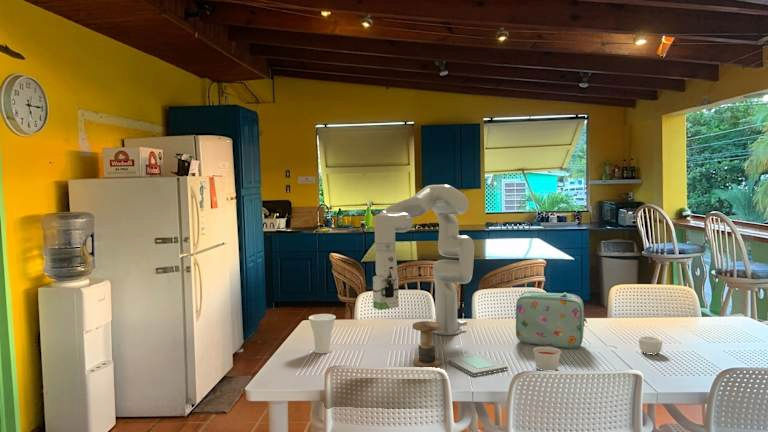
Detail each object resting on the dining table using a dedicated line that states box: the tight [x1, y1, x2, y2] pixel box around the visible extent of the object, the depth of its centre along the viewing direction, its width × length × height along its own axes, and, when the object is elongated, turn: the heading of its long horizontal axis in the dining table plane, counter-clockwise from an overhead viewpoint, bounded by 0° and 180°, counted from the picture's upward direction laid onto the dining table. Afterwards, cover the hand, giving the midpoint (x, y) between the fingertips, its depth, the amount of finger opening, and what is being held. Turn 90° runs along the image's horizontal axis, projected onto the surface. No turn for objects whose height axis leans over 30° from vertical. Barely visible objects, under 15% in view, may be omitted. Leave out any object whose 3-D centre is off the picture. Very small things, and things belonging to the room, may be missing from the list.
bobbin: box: [412, 320, 442, 368], centre depth 191 cm, size 10×10×14 cm
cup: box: [308, 313, 336, 354], centre depth 207 cm, size 10×10×14 cm
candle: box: [533, 346, 562, 371], centre depth 184 cm, size 9×9×6 cm
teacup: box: [638, 335, 663, 354], centre depth 200 cm, size 10×8×5 cm
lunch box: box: [515, 290, 588, 349], centre depth 211 cm, size 27×10×21 cm, turn 65°
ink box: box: [372, 275, 400, 311], centre depth 197 cm, size 9×5×12 cm, turn 122°
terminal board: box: [447, 353, 508, 377], centre depth 187 cm, size 14×16×1 cm
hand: (385, 295), depth 197 cm, fingers closed on ink box, 5 cm apart
